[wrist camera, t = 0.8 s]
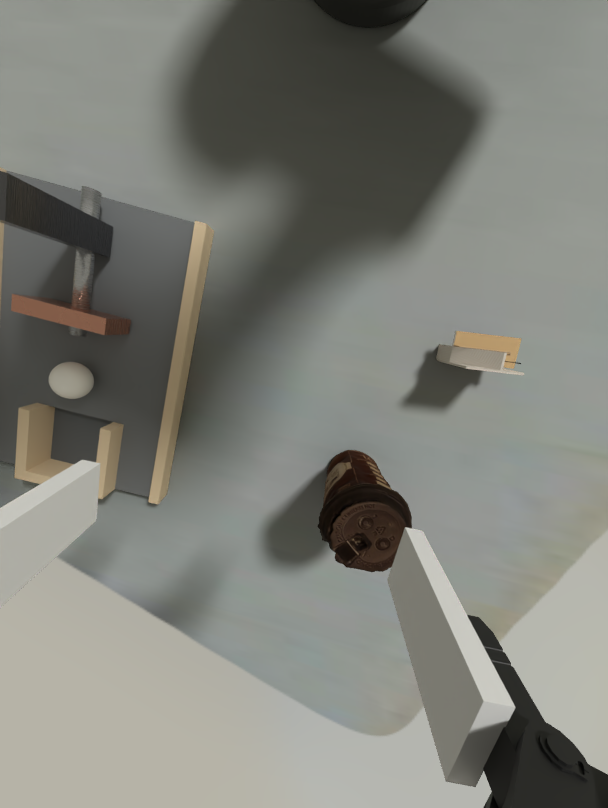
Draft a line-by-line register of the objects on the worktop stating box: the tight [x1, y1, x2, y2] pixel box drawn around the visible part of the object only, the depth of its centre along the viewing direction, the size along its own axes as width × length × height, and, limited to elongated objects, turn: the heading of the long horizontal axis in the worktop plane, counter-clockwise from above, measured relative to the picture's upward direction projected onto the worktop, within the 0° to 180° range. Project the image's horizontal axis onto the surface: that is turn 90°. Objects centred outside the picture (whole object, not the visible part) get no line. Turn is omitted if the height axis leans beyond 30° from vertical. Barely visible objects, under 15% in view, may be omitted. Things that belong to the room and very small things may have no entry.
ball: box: [49, 362, 94, 399], centre depth 35 cm, size 4×4×4 cm
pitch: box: [0, 168, 214, 504], centre depth 36 cm, size 32×22×4 cm
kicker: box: [0, 171, 131, 337], centre depth 29 cm, size 14×9×12 cm, turn 165°
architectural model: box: [436, 331, 524, 375], centre depth 34 cm, size 3×7×7 cm, turn 84°
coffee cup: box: [318, 450, 412, 572], centre depth 35 cm, size 9×8×13 cm
